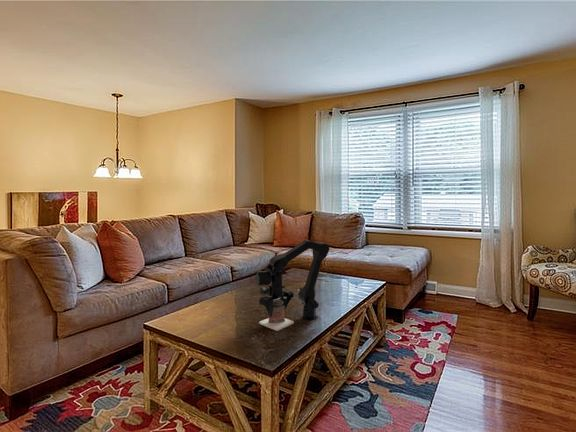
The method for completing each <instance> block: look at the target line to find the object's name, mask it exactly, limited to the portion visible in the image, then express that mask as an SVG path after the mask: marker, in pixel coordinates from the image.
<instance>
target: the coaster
mask: <svg viewBox="0 0 576 432" xmlns="http://www.w3.org/2000/svg"><path fill="white" fill-rule="evenodd" d="M284 318H285V317H284ZM294 322H295V321H293V320H291V319H289V318H285V321H284V322H279V323H269V317H268V318H266V319H265V318H264V319H262V320H260V321H259V322H258V325H261V326H264V327H266V328H269V329H271V330H274V331H276V332H278V331H280V330H283V329H285V328H286V327H289V326H292V325H294V324H295V323H294Z"/></svg>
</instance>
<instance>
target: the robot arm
mask: <svg viewBox="0 0 576 432" xmlns="http://www.w3.org/2000/svg"><path fill="white" fill-rule="evenodd" d="M309 249H310V250H312V261H311V265H310V268H309V272H308V275H307V278H306V281H305V285H304V286H303V287H300V288H299V291H298V293H297V295H298V300H299V301H300V302H301V305H303V310H302V315H301V316H300V318H301V319H305V320H307V321H309V322H311V321H314V320H315V319H318V318H319V316H318V315H316V311H317V309H318V307H319V305H320V303H319V302H318V301H316V289H315V287H316V284H317V280H318V277H319V274H320V270H321V266H322V264H323V261H324V260H325V259H326V257H327V256H328V254H329V252H330V247H329V245H328V244H327V243H325V242H321V241H316V242H314V241H312V240H309V239H303V240H302V242H300V243H298V244H297V245H295V246H294V247H292V248H290V249H289V250H288V251H286V252H284V253H282V254H277V255H275V256H273V257H270V259H269V263H268V264H267V266H266V268H265V269H264V270H262V271H261V270H258V271H256V274H255V277H254V281H255V286H256V287H260V288H259V293H260V295H263V296H262V297H260V298H259V300H258V304H259V305H262V306H264V308H265V309H266V312H267V314H268V318H269V317H272V313H273V308H274V305H273V302H274V301H277V300H279V299H280V300H279V301H283V304H281V305H284V306H285V308H284V312H285V311H286V309H287V307H288V305H289V303H290V301H291V300H292V298H294V292H293V291H292V290H288V289H284V288H286V287H285V285H284V275H288V272H287V271H286V270H285V268H286V267H287V266H288V265H289V263H291V261H292V260H294V259H296V258H297V257H298V256H300V255H302V254H303V253H304V252H306V251H308V250H309ZM261 286H262V287H261ZM265 286H268V287H265ZM283 289H284V290H283Z"/></svg>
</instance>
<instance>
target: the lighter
mask: <svg viewBox="0 0 576 432" xmlns="http://www.w3.org/2000/svg"><path fill="white" fill-rule="evenodd" d="M281 304H283V301H281V300H278V301H277V300H274V301H273V305H274V308H273V313H272V317H269V316H268V318H269V323H279V322H284V321H285V311H284V308H285V306H284V305H281Z"/></svg>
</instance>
